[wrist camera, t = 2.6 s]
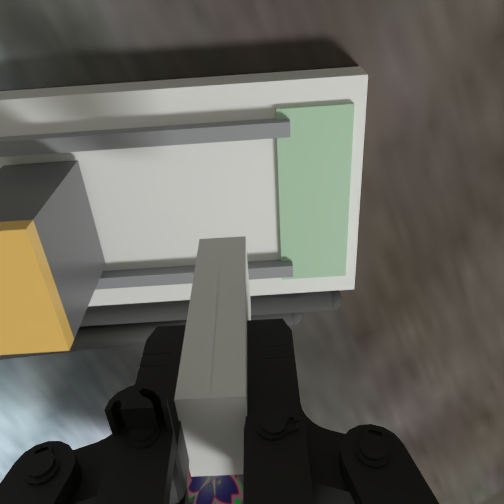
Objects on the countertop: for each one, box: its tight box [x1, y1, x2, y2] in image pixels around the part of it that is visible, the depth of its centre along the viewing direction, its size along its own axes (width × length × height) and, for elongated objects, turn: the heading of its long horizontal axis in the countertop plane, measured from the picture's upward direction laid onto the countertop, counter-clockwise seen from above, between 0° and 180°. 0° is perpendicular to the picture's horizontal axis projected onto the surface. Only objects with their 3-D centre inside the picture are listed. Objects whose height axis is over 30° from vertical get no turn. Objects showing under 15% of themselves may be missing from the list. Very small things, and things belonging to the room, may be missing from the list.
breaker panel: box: [0, 66, 368, 306], centre depth 21 cm, size 26×10×2 cm, turn 93°
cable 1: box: [0, 312, 302, 360], centre depth 26 cm, size 23×1×1 cm, turn 97°
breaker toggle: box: [0, 160, 106, 355], centre depth 18 cm, size 3×5×6 cm, turn 4°
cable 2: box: [80, 290, 342, 327], centre depth 25 cm, size 25×1×1 cm, turn 93°
